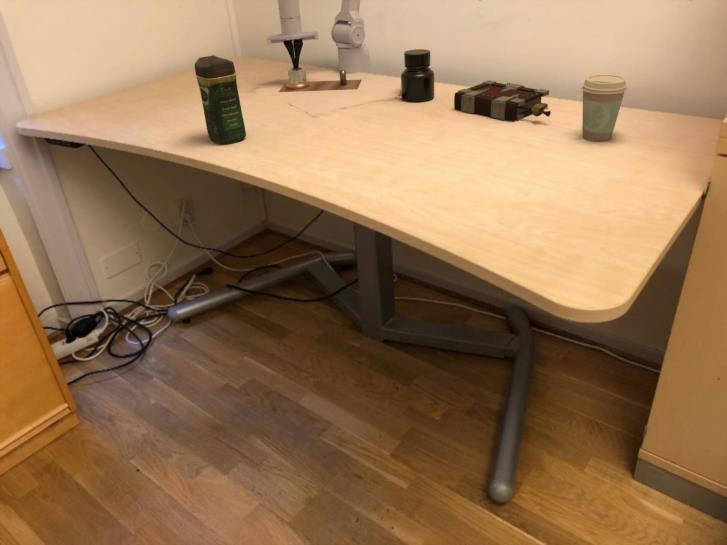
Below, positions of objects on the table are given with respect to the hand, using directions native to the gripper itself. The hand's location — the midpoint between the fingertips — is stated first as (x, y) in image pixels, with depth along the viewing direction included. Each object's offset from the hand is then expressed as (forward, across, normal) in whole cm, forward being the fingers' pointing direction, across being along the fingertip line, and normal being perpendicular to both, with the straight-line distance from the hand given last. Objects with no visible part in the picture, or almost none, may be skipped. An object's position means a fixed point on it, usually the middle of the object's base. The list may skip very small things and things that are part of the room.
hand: (295, 67), depth 171 cm
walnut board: (+6, -6, +4) cm, 10 cm away
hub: (+5, 0, +2) cm, 5 cm away
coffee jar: (+7, +21, +38) cm, 44 cm away
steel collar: (+4, 0, +2) cm, 4 cm away
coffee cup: (+7, -56, +69) cm, 89 cm away
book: (+7, -48, +45) cm, 66 cm away
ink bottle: (+7, -30, +24) cm, 39 cm away
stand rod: (+5, -13, +6) cm, 15 cm away
